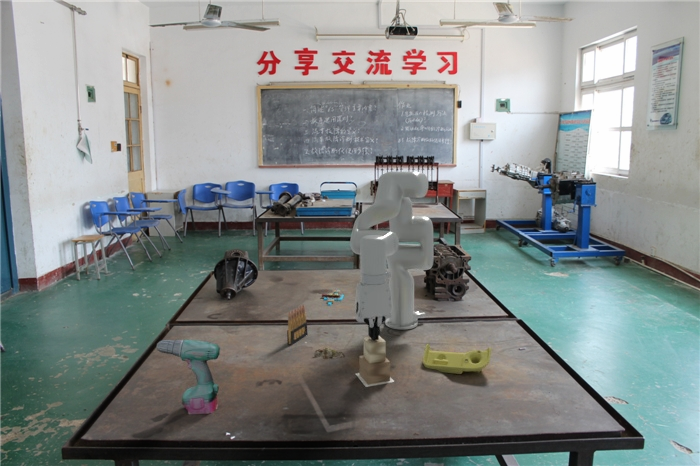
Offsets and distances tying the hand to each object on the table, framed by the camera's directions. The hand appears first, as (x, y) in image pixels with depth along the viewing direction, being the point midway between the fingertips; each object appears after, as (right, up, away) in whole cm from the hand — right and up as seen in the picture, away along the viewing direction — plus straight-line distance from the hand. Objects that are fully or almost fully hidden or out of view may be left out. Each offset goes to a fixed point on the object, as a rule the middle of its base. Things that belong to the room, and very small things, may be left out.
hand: (374, 338), depth 154 cm
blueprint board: (0, -13, +4) cm, 14 cm away
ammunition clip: (-26, -8, +35) cm, 45 cm away
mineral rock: (-14, -11, +19) cm, 26 cm away
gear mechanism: (-15, +1, +82) cm, 83 cm away
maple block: (0, -6, +1) cm, 6 cm away
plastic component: (+26, -12, +10) cm, 31 cm away
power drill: (-50, -17, -11) cm, 54 cm away
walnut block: (0, -12, +2) cm, 12 cm away
